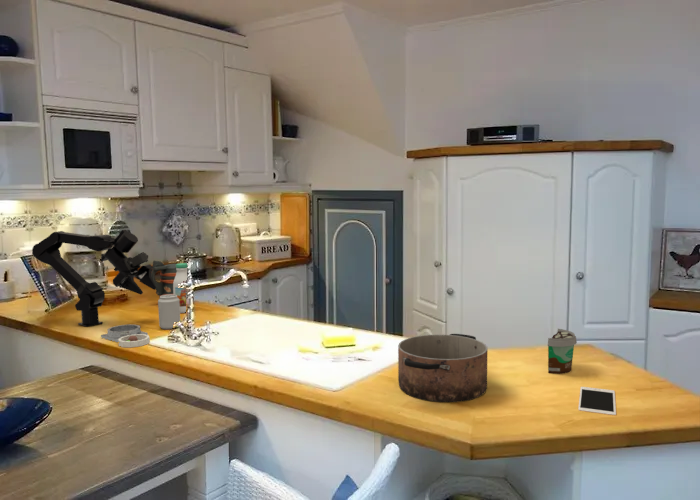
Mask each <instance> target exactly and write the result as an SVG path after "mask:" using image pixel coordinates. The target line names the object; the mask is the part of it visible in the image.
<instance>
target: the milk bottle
mask: <svg viewBox="0 0 700 500" xmlns="http://www.w3.org/2000/svg"><path fill="white" fill-rule="evenodd" d="M175 264H176V269H177V273H176V276H175V279H174V282H173V294H174V295H177V298H178V299H179V303H180V314H185V312H186V293H187V291H186V288H178V284H180V283H181V282H183V281H186V280H187V269H188V270H189V266H188V263H185V262H183V263H182V262H180V263H175ZM187 267H188V268H187Z"/></svg>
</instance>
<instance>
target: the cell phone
mask: <svg viewBox="0 0 700 500" xmlns="http://www.w3.org/2000/svg"><path fill="white" fill-rule="evenodd" d="M616 406H617V404H616V391H615V390H613V389H607V388H606V389H605V388H597V387H588V386H580V390H579V399H578V408H577V409H578V412H579V411H580V412H586V413H594V414H601V415H607V416H608V415H609V416H617V407H616Z"/></svg>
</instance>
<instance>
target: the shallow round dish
mask: <svg viewBox="0 0 700 500" xmlns="http://www.w3.org/2000/svg"><path fill="white" fill-rule="evenodd" d="M130 336H136V337H137V338H138V341H126V340H128V338H129V337H130ZM118 342H119V343H118ZM118 342H117V343H118V347H120V346H121V348H136V347H137V348H138V347H142V346H146V345H148V344H150V343H151V340H150V335H149V334H148V335H145V334H134V335H127V336H123V337H121V338H119V339H118ZM149 342H150V343H149Z"/></svg>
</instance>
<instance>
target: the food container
mask: <svg viewBox="0 0 700 500" xmlns="http://www.w3.org/2000/svg"><path fill="white" fill-rule="evenodd" d="M547 338H548V339H547V352H548V353H547V356H548V357H547V361H548V362H547V366H548V367H547V370H548V371H547V373H548V374H552V375H563V374H569V373H570V372H572V367H573V359H574V349H575V345H577V344H578V343H577V342H578V341H577V336H576V335H575V333H574V332H572V331H570V330H568V329H562V328H557V331H556V333H555V334H553V336H552V337H551V338H550V337H547Z"/></svg>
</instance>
